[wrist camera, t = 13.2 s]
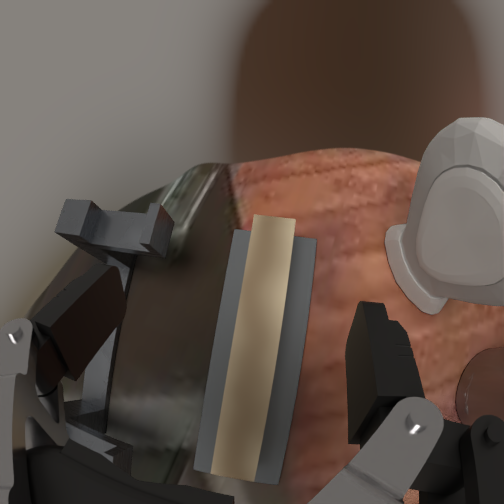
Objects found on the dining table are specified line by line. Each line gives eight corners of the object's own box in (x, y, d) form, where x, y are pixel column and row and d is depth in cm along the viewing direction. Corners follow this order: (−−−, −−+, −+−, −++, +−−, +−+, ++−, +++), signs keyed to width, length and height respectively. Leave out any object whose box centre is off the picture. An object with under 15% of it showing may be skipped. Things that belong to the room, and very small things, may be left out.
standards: (196, 250, 30) (160, 203, 20) (161, 453, 24) (111, 489, 14) (117, 240, 31) (64, 198, 22) (83, 422, 25) (20, 437, 15)
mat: (316, 241, 29) (316, 239, 29) (277, 482, 22) (277, 485, 21) (235, 231, 30) (234, 229, 30) (194, 467, 23) (193, 469, 22)
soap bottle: (472, 300, 26) (655, 204, 3) (423, 339, 25) (652, 272, 2) (415, 199, 30) (527, 19, 7) (362, 227, 29) (471, 4, 6)
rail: (293, 236, 29) (295, 219, 25) (257, 465, 22) (254, 481, 19) (257, 232, 29) (254, 214, 26) (219, 458, 23) (210, 473, 19)
